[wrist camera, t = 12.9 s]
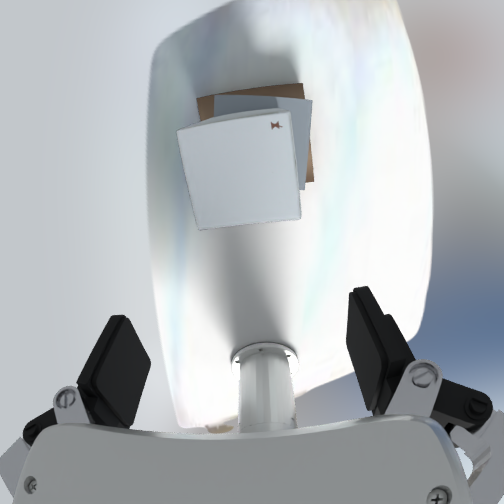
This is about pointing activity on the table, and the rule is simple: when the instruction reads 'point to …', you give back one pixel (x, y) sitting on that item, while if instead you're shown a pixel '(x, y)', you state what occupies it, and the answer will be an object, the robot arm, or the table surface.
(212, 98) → the walnut base slab
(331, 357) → the table surface
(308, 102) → the slate grey slab
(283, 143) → the supplement box
